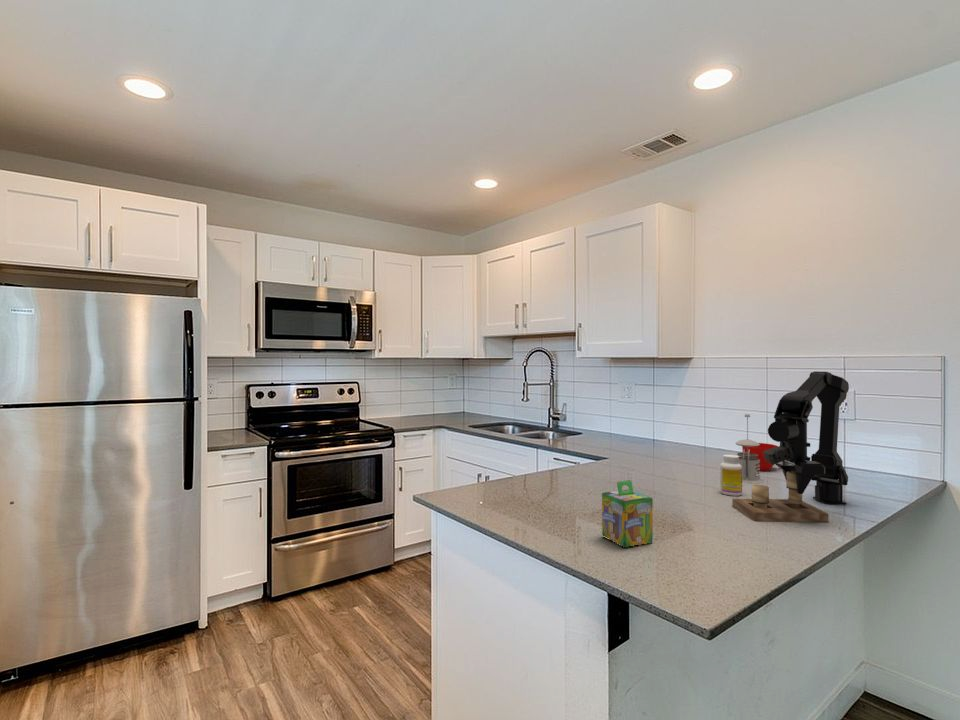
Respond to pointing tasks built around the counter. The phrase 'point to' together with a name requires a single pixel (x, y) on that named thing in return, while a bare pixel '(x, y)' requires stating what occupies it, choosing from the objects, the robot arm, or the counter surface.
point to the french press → (749, 460)
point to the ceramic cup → (761, 455)
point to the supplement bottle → (731, 476)
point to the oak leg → (793, 487)
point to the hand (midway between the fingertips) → (795, 491)
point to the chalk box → (627, 516)
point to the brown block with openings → (777, 508)
